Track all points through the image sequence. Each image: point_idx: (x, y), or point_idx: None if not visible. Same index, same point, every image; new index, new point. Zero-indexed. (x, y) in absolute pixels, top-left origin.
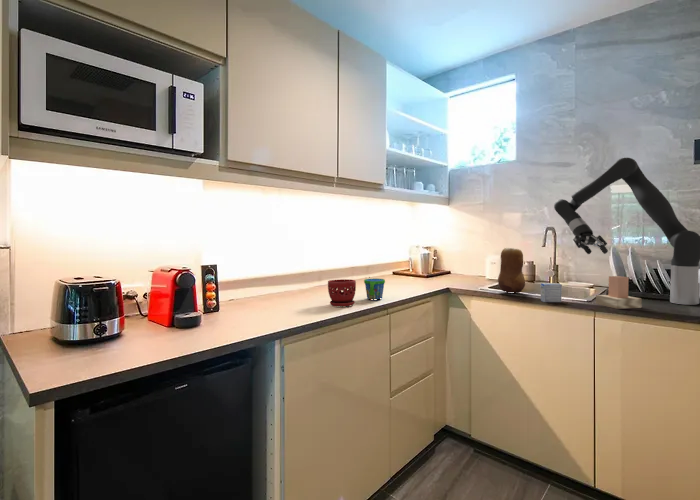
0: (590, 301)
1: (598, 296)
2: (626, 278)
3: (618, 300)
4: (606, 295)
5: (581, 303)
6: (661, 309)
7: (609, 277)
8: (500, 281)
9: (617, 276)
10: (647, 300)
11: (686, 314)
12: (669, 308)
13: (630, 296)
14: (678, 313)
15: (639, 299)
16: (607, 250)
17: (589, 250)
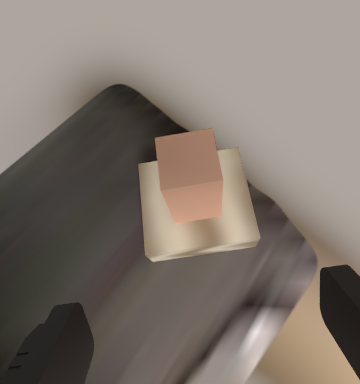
0: (247, 302)
1: (257, 227)
2: (167, 139)
3: (231, 150)
4: (219, 230)
5: (310, 258)
6: (109, 155)
7: (221, 178)
8: None
9: (181, 171)
10: (2, 311)
11: (105, 102)
12: (73, 169)
13: (142, 204)
14: (113, 111)
15: (147, 164)
16: (56, 306)
17: (358, 280)
